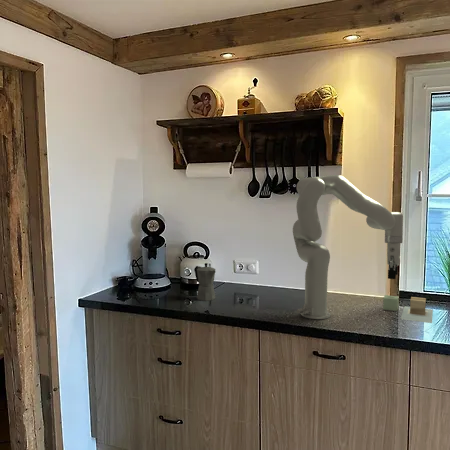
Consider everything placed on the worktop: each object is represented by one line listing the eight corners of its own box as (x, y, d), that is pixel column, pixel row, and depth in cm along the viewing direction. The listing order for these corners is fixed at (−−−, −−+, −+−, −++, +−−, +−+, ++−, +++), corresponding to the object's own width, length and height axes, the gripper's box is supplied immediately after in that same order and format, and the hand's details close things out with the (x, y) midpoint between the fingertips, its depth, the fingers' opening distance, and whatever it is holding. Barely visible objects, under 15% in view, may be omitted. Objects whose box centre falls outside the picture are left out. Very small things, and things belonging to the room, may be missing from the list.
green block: (397, 312, 198) (397, 299, 198) (382, 310, 201) (383, 298, 200) (398, 309, 204) (398, 296, 203) (384, 307, 206) (384, 295, 206)
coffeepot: (221, 299, 220) (222, 263, 218) (207, 302, 214) (207, 266, 212) (201, 293, 231) (201, 259, 230) (187, 296, 225) (187, 261, 223)
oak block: (424, 315, 192) (425, 301, 192) (409, 313, 195) (410, 299, 194) (425, 311, 198) (425, 298, 197) (410, 309, 200) (411, 296, 200)
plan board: (432, 324, 181) (432, 323, 181) (400, 320, 186) (400, 319, 186) (432, 310, 201) (432, 309, 201) (404, 307, 206) (404, 306, 206)
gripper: (400, 242, 190) (400, 281, 192) (403, 237, 206) (403, 273, 207) (382, 241, 193) (381, 279, 195) (386, 236, 209) (386, 272, 210)
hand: (392, 276), depth 201 cm, fingers open, 9 cm apart
